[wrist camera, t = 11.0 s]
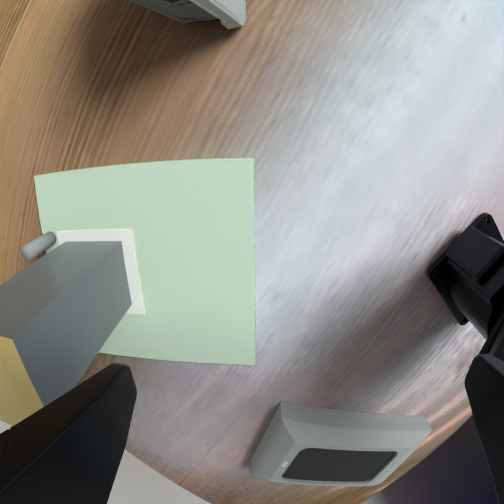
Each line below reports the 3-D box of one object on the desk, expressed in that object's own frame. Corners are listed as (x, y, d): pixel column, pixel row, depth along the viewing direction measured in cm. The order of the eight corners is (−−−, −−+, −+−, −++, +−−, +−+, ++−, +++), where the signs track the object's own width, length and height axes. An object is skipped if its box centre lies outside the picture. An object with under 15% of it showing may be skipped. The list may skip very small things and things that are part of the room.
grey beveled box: (384, 490, 25) (249, 484, 24) (378, 465, 29) (251, 455, 28) (435, 439, 22) (281, 431, 21) (423, 412, 25) (280, 397, 25)
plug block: (121, 241, 19) (-3, 354, 8) (132, 304, 21) (43, 437, 10) (65, 241, 19) (-60, 333, 8) (78, 300, 21) (-19, 410, 10)
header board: (254, 157, 18) (251, 162, 14) (255, 359, 23) (253, 393, 19) (39, 174, 18) (6, 184, 15) (75, 344, 23) (56, 370, 20)
